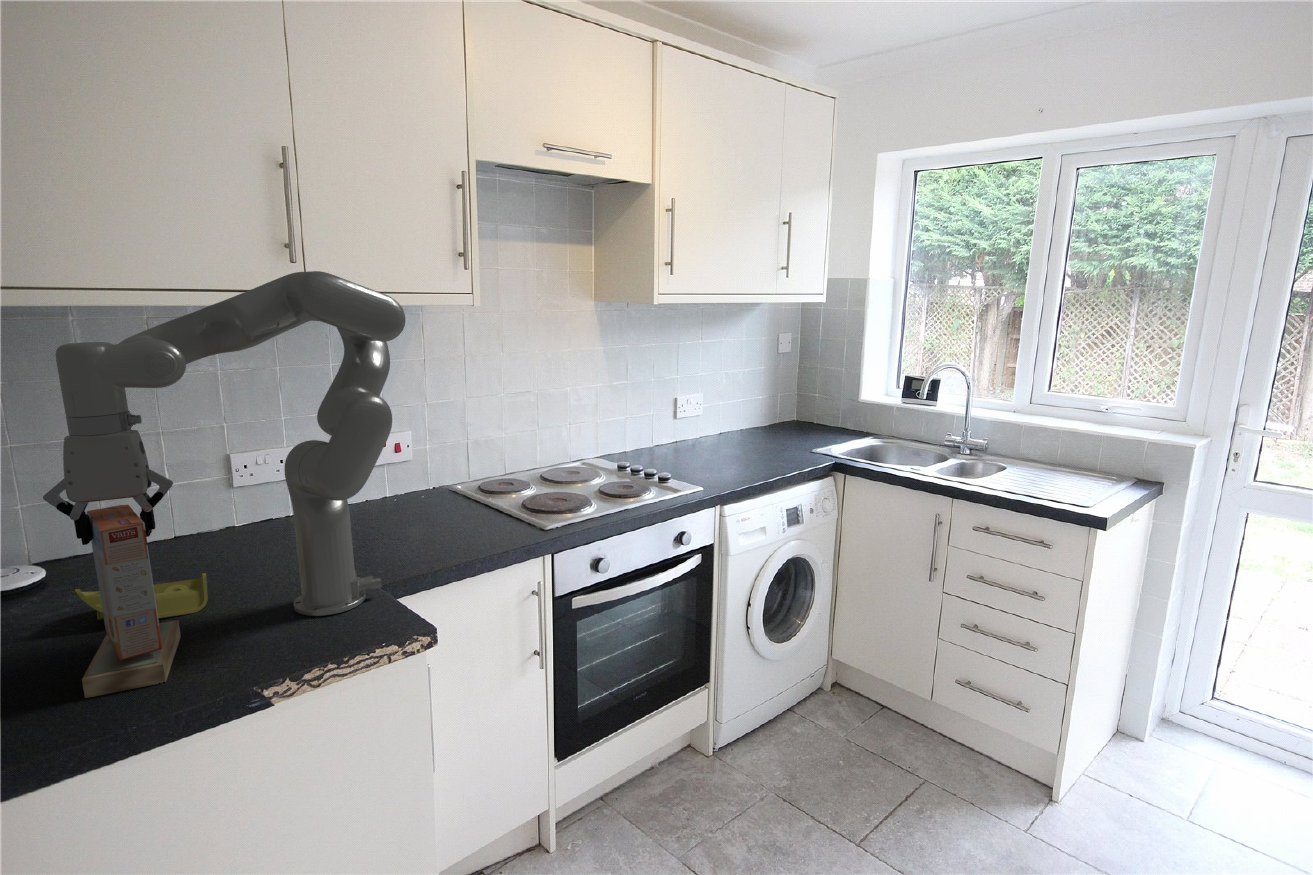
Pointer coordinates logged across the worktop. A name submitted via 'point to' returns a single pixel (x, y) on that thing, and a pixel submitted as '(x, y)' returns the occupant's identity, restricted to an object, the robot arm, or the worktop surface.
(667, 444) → the worktop surface
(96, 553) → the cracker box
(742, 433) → the worktop surface
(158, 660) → the stand
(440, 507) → the worktop surface
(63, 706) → the worktop surface
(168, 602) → the plastic component
